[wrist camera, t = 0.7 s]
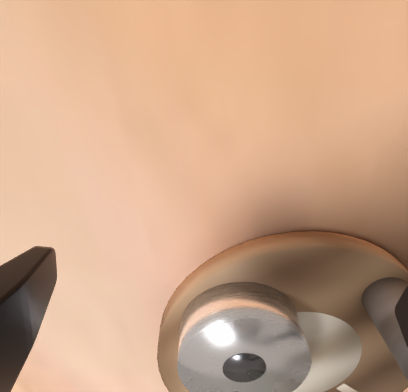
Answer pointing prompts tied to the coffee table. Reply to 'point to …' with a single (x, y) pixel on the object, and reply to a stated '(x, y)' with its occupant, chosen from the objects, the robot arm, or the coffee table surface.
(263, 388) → the cover
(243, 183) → the coffee table surface
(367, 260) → the turntable
